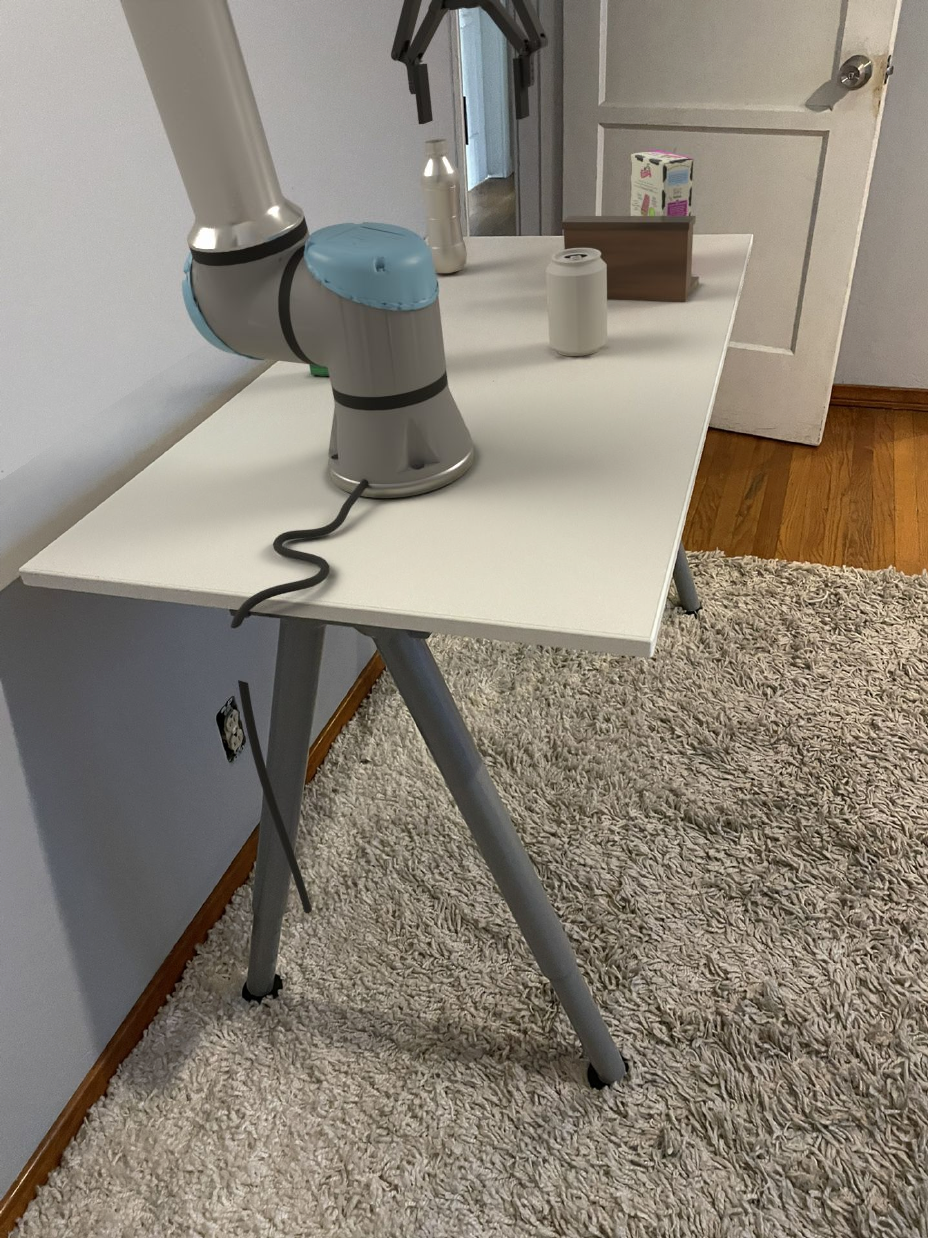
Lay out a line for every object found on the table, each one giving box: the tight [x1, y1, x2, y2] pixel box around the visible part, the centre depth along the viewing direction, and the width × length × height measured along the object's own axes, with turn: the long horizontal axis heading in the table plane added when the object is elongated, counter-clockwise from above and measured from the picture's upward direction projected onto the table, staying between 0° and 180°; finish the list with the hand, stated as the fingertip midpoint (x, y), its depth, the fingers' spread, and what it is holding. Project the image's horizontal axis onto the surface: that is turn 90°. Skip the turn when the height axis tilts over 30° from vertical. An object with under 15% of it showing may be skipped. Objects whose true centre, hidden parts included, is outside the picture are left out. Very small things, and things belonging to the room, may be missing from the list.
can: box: [545, 248, 608, 357], centre depth 116 cm, size 8×8×12 cm
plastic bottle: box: [418, 138, 468, 274], centre depth 149 cm, size 6×7×20 cm
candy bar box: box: [629, 149, 694, 216], centre depth 139 cm, size 11×5×16 cm, turn 17°
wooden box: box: [561, 215, 700, 303], centre depth 134 cm, size 8×18×11 cm, turn 65°
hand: (473, 120), depth 117 cm, fingers open, 13 cm apart
